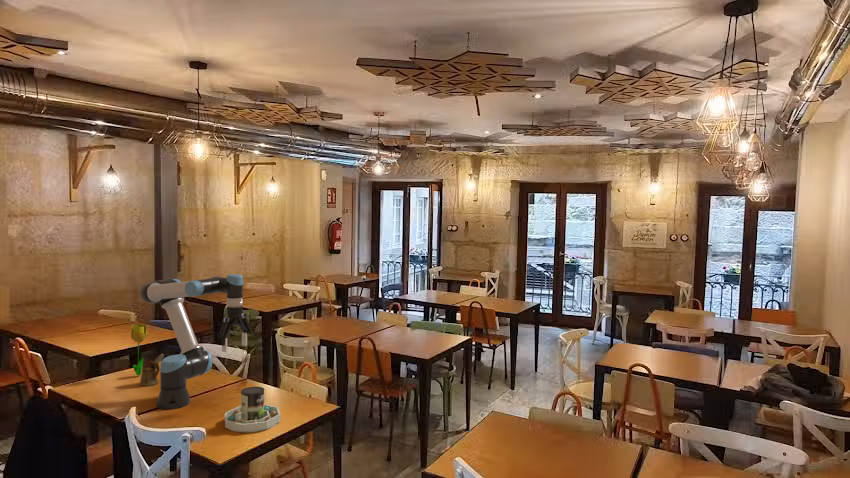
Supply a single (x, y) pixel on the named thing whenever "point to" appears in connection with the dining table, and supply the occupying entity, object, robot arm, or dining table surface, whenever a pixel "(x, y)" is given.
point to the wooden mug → (150, 372)
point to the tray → (238, 425)
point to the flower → (138, 336)
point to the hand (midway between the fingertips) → (234, 348)
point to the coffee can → (252, 403)
